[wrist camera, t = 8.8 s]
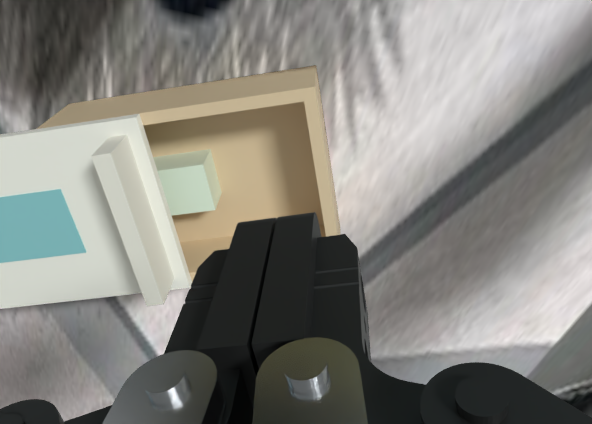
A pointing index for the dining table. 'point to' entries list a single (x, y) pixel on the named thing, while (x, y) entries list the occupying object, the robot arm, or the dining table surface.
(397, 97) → the dining table surface
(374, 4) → the dining table surface
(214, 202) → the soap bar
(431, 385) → the robot arm
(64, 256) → the lid
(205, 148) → the open tan box
